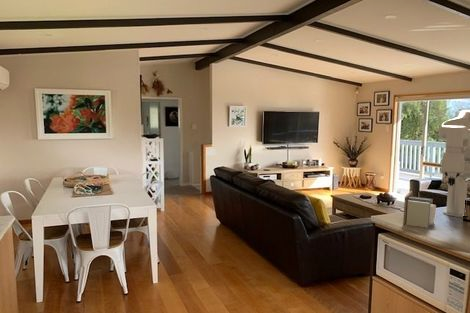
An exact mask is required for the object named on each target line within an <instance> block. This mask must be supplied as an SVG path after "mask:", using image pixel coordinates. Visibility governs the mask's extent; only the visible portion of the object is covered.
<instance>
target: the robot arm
mask: <svg viewBox="0 0 470 313" xmlns="http://www.w3.org/2000/svg"><path fill="white" fill-rule="evenodd" d="M437 136H438V137H439V139H441V140H444V141H445V151H444V152H443V153H442V158H441V163H440V164H441V165H440V174H441V175H442V174H443V175H445V176H446V177H447V178H448V180H447V183H448V184H447V196H446V197H447V198H446V209H444V210H443V211H442V213H443V214H444V215H446V216H450V217H457V218H464V217H463V214H464V208H465V200H466V201H467V193H468V185H467V182H466V181H465V180H464V179H467V180H470V110H460V111H458V112H457V113H456V114H455V115H454V118H452V119H449V120H446V121H444V122H442V123H441V124H440V126H439V129H438V134H437Z"/></svg>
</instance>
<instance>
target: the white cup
mask: <svg viewBox="0 0 470 313" xmlns="http://www.w3.org/2000/svg"><path fill="white" fill-rule="evenodd" d="M436 208H437V205H436V204H433V203H432V204H430V215H429V225H434V221H435V215H436Z"/></svg>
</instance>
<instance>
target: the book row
mask: <svg viewBox="0 0 470 313" xmlns="http://www.w3.org/2000/svg"><path fill="white" fill-rule="evenodd" d="M413 197H414V196H412V197H409V200H408V205H407V221H406V224H405V225H406V226H414V227H418V226H419V227H418V228H424V227H425V228H426V229H428V228H429V226H430V224H429V215H430V200H429V199H430V198H427V199H421V198H422V197H418V198H413Z"/></svg>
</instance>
